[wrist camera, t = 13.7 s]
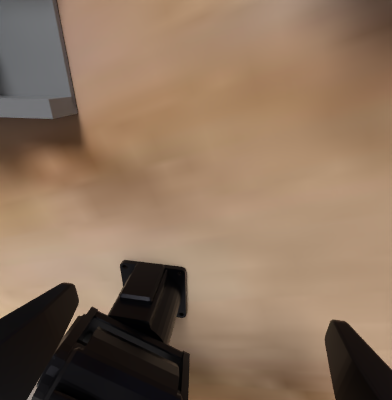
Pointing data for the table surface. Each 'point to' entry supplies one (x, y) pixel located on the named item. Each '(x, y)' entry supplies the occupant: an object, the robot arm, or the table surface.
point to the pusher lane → (33, 62)
